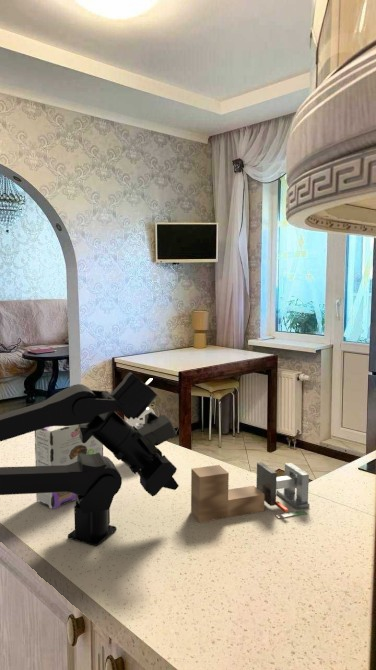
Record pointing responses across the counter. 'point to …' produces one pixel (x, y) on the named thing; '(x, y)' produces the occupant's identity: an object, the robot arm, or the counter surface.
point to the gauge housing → (298, 498)
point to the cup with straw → (141, 420)
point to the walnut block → (221, 495)
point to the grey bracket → (273, 484)
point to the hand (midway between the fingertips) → (176, 487)
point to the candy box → (61, 456)
